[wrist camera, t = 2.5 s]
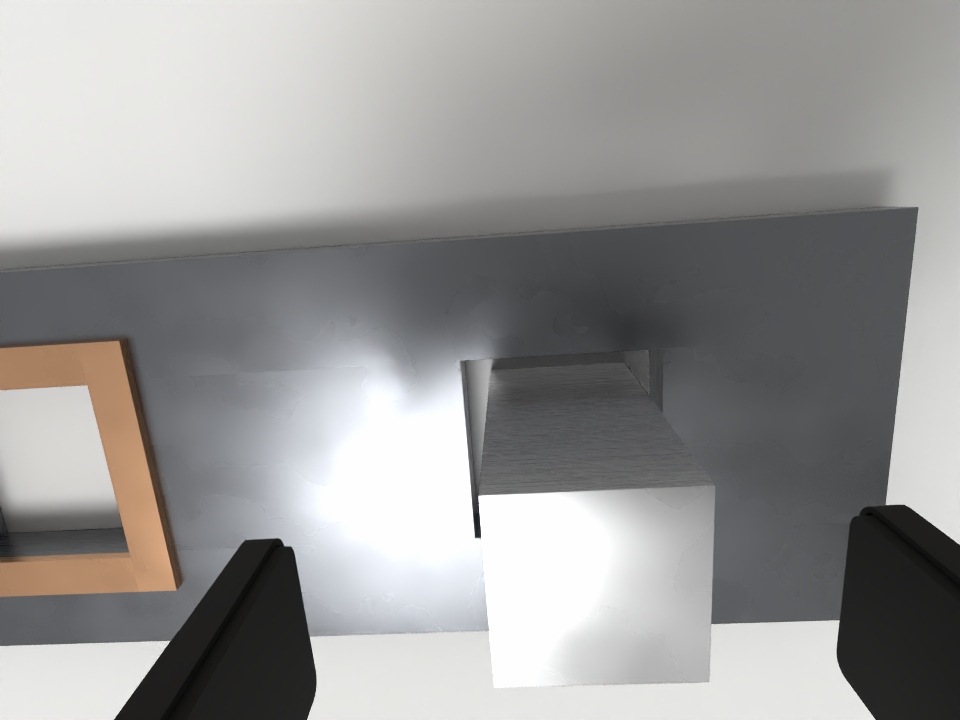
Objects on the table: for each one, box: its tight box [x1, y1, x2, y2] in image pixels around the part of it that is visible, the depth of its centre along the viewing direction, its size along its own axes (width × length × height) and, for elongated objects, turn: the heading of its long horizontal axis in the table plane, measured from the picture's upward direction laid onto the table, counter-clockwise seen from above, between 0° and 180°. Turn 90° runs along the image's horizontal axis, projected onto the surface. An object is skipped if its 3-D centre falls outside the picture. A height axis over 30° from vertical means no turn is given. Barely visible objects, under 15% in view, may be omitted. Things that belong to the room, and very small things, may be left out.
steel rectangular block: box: [479, 362, 715, 688], centre depth 14 cm, size 4×4×8 cm
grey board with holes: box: [0, 207, 918, 646], centre depth 18 cm, size 34×12×2 cm, turn 94°
